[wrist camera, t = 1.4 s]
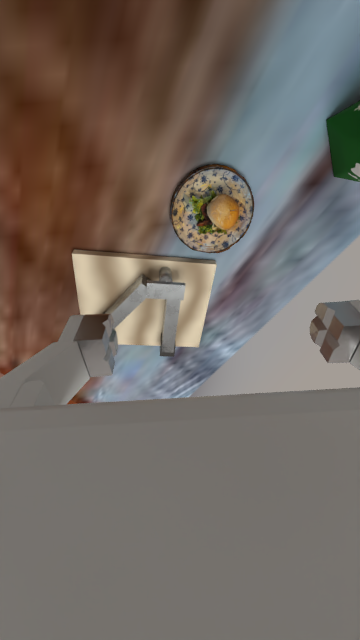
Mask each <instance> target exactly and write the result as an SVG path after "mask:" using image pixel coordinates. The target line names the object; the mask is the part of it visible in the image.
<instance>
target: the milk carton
mask: <svg viewBox="0 0 360 640" xmlns="http://www.w3.org/2000/svg"><path fill="white" fill-rule="evenodd" d="M326 122H327V129H328V137H329V144H330V151H331V158H332V165H333V173H334V177H338V178H343V179H348V180H353V181H358V182H360V101H358V102H357V103H355V104H353V105H352V106H350V107H348V108H346V109H345V110H343V111H341V112H340V113H338V114H336V115H334V116H333V117H331V118H329V119H328V120H326Z"/></svg>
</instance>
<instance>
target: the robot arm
mask: <svg viewBox="0 0 360 640" xmlns="http://www.w3.org/2000/svg"><path fill="white" fill-rule="evenodd" d="M315 313H316V315H317V316H316V317H315V318H314V319H313V320H312V321H311V325H310V335H311V338H312V340H313V342H314V343H315V344H317V345H319V346H320V347H321V349H320V352H321V354H322V355H323V357H324V358H325V360H326V361H327V362H328V363H344V362H345V363H347V362H350V364H352V365H353V366H354V367H356V368H357V369H359V370H360V301H359V300H352V301H343V302H328V303H319V304H318V305H317V307H316V310H315ZM113 325H114V320H113V317H112V315H111V314H86V315H72V316H70V318H69V320H68V322H67V324H66V326H65V328H64V330H63V332H62V334H61V336H60V338H59V340H58V342H54V343H52V344H51V345H49V346H48V347H46V348H45V349H43V350H42V351H40V352H39V353H37V354H36V355H34V356H33V357H31V358H30V359H28V360H27V361H25V362H24V363H22V364H21V365H19V366H18V367H16V368H15V369H13V370H12V371H11V372H9V373H8V374H6V375H5V376H3V377H2V378H0V640H360V388H342V389H325V390H308V391H290V392H273V393H255V394H238V395H221V396H204V397H187V398H170V399H153V400H136V401H119V402H102V403H85V404H69V405H66V404H67V403H68V402H69V401H70V400H71V399H72V397H73V396H74V395H75V394H76V393H77V392H78V391H79V390H80V389H81V388H82V386H83V385H84V384H85V383H86V382H87V381H88V380H89V379H90V377H97V376H109V375H112V374H113V369H114V364H115V361H114V356H115V355H116V354H117V349H118V339H117V333H116V331H115V330H114V329H113Z"/></svg>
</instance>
